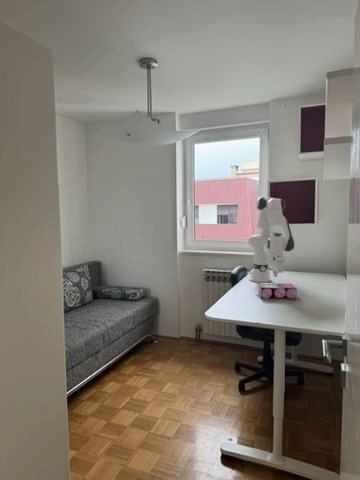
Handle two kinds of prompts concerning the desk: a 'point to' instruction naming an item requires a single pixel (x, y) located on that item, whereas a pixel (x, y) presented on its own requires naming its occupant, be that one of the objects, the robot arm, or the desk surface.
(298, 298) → the mat
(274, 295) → the gum box
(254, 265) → the robot arm
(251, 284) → the desk surface
